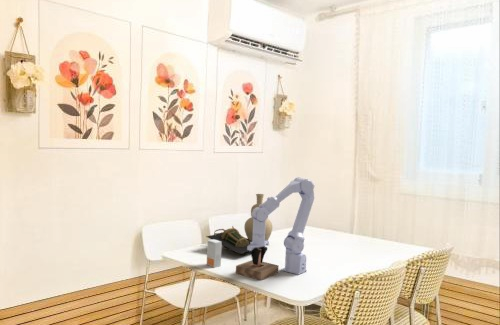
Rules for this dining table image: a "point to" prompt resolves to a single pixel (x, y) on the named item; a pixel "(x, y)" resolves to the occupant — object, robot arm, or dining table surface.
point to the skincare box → (214, 253)
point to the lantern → (232, 240)
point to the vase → (249, 222)
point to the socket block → (257, 270)
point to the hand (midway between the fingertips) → (257, 263)
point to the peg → (258, 260)
